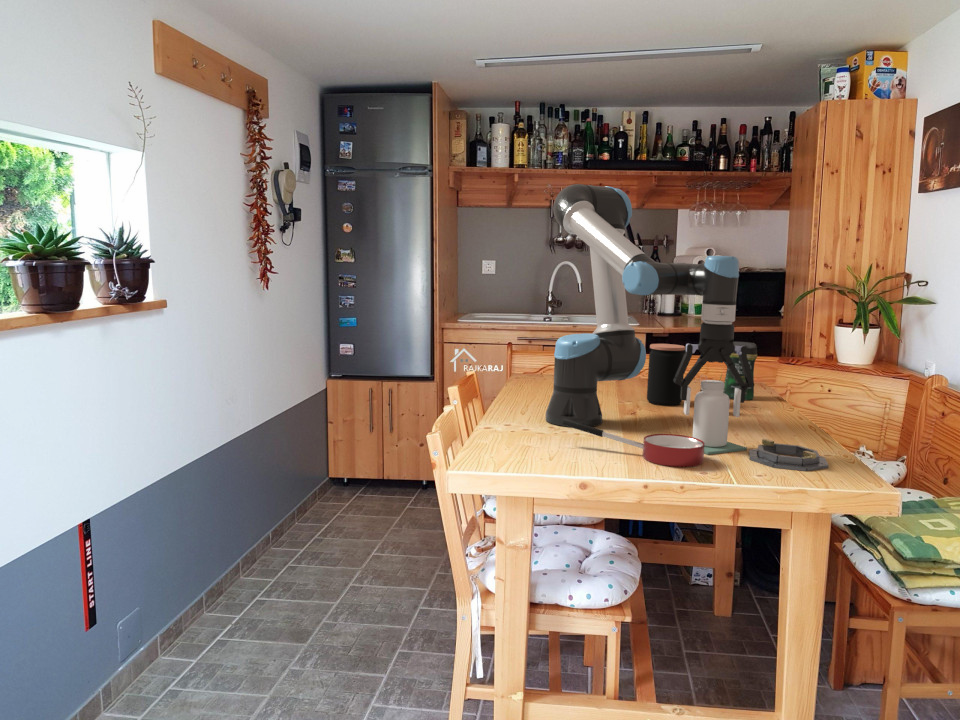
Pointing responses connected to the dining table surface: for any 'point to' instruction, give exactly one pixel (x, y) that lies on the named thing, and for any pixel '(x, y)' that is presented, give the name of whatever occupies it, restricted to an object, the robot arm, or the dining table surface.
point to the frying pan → (658, 446)
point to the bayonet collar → (770, 458)
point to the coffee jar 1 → (664, 374)
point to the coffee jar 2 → (729, 380)
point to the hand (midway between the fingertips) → (711, 415)
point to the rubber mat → (724, 449)
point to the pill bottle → (711, 414)
